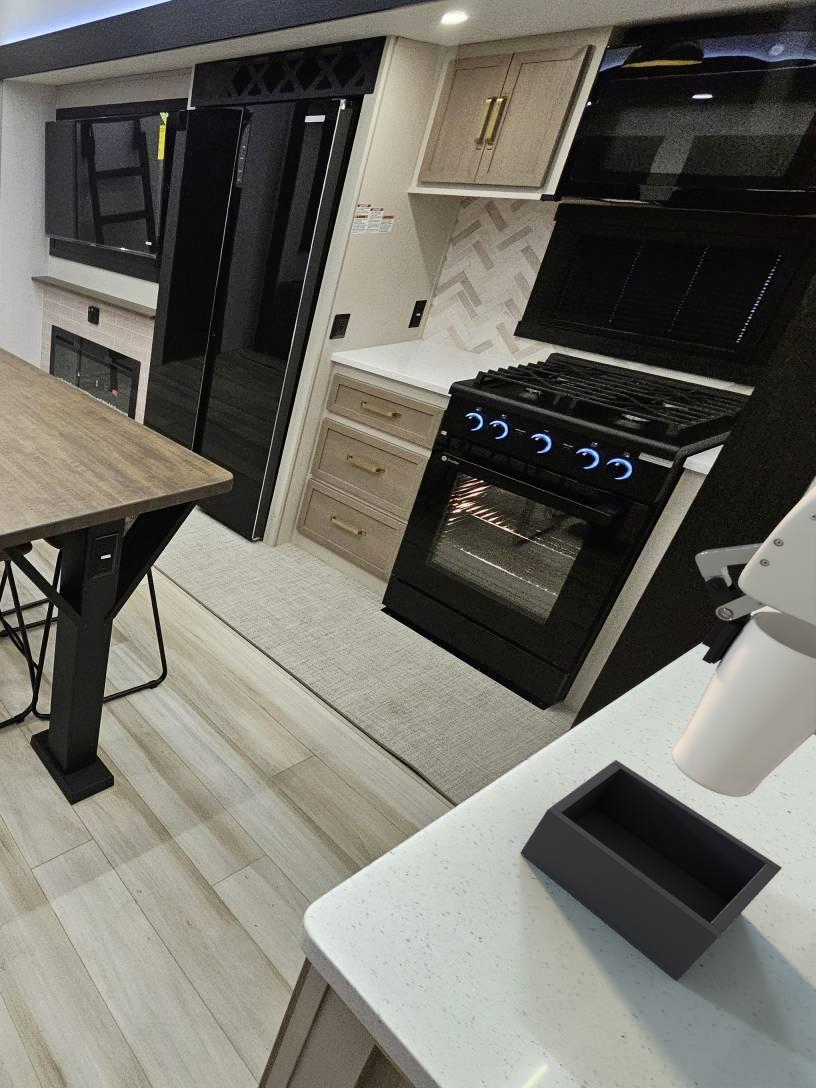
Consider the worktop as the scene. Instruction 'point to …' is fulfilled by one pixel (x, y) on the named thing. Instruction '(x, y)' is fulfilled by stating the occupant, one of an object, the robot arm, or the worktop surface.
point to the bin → (648, 865)
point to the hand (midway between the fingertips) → (775, 686)
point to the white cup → (752, 707)
